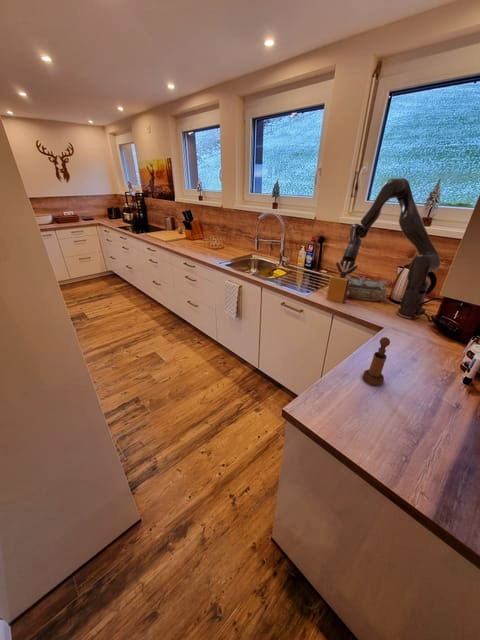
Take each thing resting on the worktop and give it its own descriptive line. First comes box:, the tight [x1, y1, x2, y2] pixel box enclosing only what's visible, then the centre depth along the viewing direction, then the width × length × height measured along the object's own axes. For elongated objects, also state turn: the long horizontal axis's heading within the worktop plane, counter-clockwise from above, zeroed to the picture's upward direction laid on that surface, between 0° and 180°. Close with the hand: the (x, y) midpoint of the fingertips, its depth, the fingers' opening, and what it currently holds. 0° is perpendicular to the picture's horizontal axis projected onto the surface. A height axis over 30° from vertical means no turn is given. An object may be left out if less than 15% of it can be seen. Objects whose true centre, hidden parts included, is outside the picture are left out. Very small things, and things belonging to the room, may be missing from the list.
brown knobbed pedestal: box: [362, 336, 391, 387], centre depth 91 cm, size 7×6×18 cm
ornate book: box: [345, 274, 390, 303], centre depth 163 cm, size 23×10×30 cm
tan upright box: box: [326, 275, 350, 304], centre depth 154 cm, size 10×3×14 cm, turn 58°
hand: (342, 278), depth 157 cm, fingers closed
